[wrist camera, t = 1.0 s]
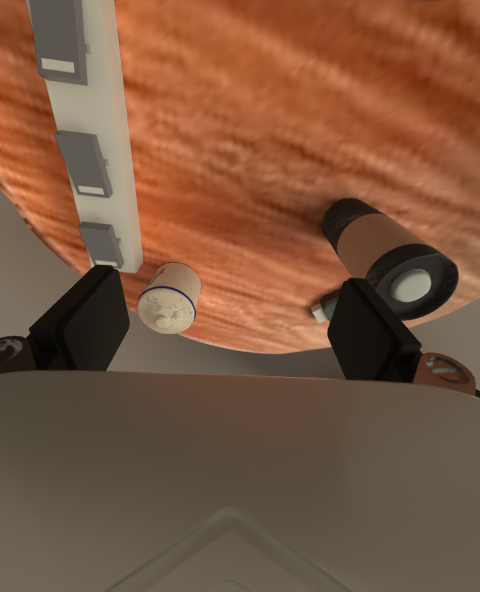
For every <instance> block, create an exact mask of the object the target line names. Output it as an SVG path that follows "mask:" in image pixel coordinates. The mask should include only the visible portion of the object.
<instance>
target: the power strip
mask: <svg viewBox="0 0 480 592" xmlns="http://www.w3.org/2000/svg"><path fill="white" fill-rule="evenodd" d="M25 1H26V5H27V9H28V13H29V17H30V21H31V25H32V18H31V10H30V2H29V0H25ZM82 11H83V25H84V39H85V53H86V66H87V80H88V86H84V85H76V84H69V83H62V82H55V81H48V80H47V79H45V82H46V86H47V90H48V94H49V98H50V102H51V106H52V110H53V114H54V118H55V122H56V126H57V130H58V131H59V130H64V131H72V132H80V133H88V134H95V135H97V138H98V142H99V145H100V149H101V152H102V156H103V159H104V163H105V166H106V170H107V173H108V177H109V180H110V184H111V187H112V191H113V194H112V195H111V197H110V198H102V197H93V196H84V195H78V194H77V191H76V189H75V186H74V184H73V181H72V179H71V176H70V174H69V171H68V169H67V171H68V175H69V179H70V183H71V187H72V191H73V195H74V199H75V203H76V207H77V212H78V216H79V220H80V224H81V222H82V221H83V222H92V223H101V224H110V225H112V226H113V229H114V232H115V235H116V238H117V241H118V244H119V247H120V251H121V254H122V257H123V260H124V264H123V267H122V269H118V268H114V269H117V270H118V271H119V272H128V273H136V272H137V271H138V269H139V268H140V267H141V265H142V264H143V262H144V260H143V252H142V243H141V234H140V225H139V216H138V208H137V199H136V190H135V181H134V172H133V164H132V155H131V146H130V137H129V128H128V120H127V111H126V102H125V93H124V84H123V76H122V67H121V58H120V49H119V40H118V32H117V23H116V14H115V5H114V0H82ZM32 29H33V26H32ZM66 167H67V166H66ZM87 252H88V250H87ZM88 256H89V260H90V264H91V268H92V267H94V263H93V261H92V259H91V257H90V254H89V252H88Z"/></svg>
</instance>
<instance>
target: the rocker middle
mask: <svg viewBox="0 0 480 592" xmlns="http://www.w3.org/2000/svg"><path fill="white" fill-rule="evenodd" d="M54 136H55V139H56V141H57V144H58V146H59V149H60V151H61V154H62V156H63V159H64V161H65V164H66V166H67V169H68V171H69V174H70V176H71V179H72V181H73V184H74V186H75V189H76V191H77V194H78V195H84V196H93V197H102V198H110V197H111V195H112V194H113V191H112V187H111V184H110V180H109V177H108V173H107V170H106V166H105V163H104V159H103V156H102V152H101V149H100V145H99V142H98V138H97V135H95V134H88V133H80V132H72V131H64V130H59V131H58V132H56V133H55V134H54Z"/></svg>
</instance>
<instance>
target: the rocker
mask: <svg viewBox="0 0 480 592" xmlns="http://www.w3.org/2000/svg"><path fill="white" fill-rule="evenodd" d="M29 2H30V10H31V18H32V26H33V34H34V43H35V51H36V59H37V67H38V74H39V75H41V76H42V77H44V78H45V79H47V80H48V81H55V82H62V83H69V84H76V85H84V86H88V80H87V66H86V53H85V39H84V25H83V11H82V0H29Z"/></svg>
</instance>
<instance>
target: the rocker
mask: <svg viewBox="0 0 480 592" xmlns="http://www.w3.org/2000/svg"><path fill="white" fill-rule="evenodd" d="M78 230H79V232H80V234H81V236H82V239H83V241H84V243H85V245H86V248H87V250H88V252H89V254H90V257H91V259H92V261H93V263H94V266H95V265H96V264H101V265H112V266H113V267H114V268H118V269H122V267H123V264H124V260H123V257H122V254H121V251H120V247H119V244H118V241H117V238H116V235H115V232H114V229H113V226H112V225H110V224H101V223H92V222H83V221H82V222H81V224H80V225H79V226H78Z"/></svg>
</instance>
